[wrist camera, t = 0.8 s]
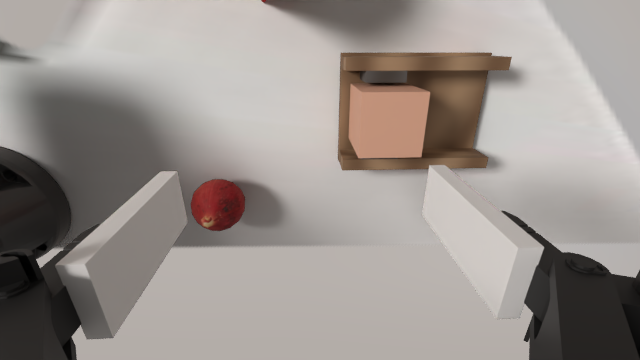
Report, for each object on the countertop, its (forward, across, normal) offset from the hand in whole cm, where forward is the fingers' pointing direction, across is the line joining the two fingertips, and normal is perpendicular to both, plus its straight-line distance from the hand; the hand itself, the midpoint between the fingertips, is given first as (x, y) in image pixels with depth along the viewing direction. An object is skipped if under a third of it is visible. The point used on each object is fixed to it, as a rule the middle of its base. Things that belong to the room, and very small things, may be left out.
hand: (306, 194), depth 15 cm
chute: (+22, +12, 0) cm, 25 cm away
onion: (+22, -10, -10) cm, 26 cm away
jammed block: (+21, +8, 0) cm, 22 cm away
